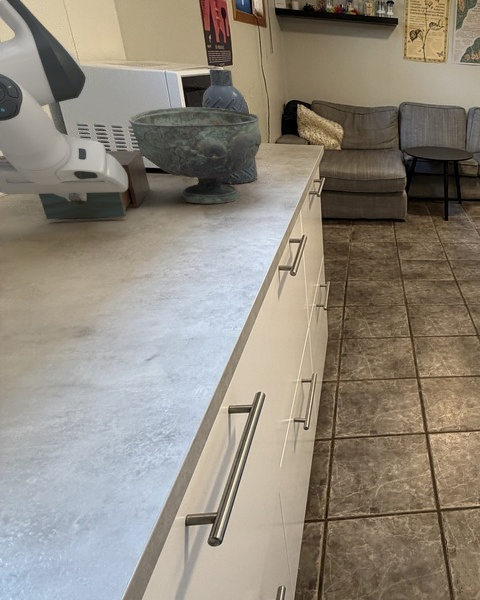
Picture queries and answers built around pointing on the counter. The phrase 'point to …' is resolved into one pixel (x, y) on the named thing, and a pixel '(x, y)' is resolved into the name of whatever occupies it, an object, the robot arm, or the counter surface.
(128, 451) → the counter surface
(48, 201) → the drawer
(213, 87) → the vase
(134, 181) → the cabinet
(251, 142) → the decorative bowl
